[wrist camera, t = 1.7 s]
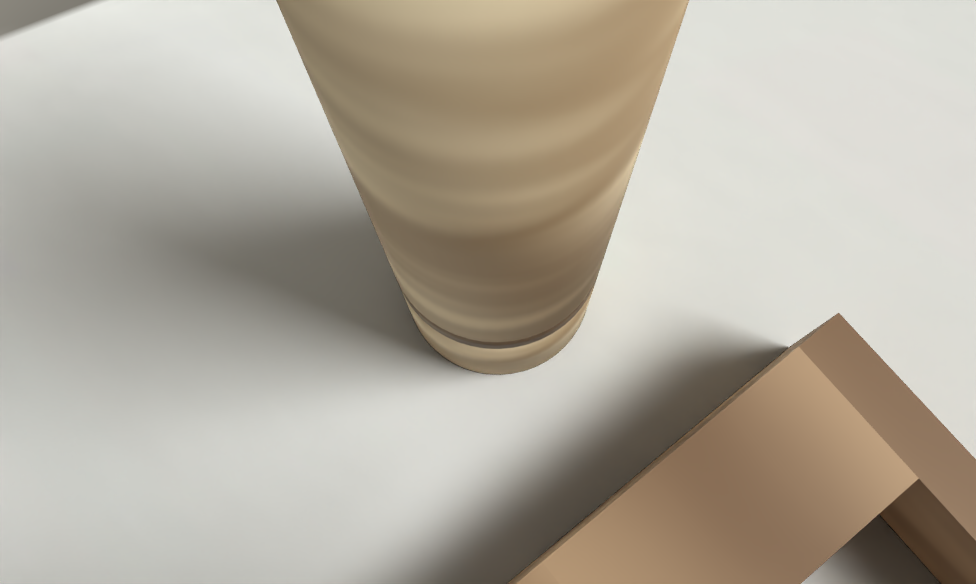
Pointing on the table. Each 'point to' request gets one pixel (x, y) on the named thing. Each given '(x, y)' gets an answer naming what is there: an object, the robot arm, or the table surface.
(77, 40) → the table surface
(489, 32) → the peg
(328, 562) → the table surface
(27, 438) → the table surface
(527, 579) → the board
